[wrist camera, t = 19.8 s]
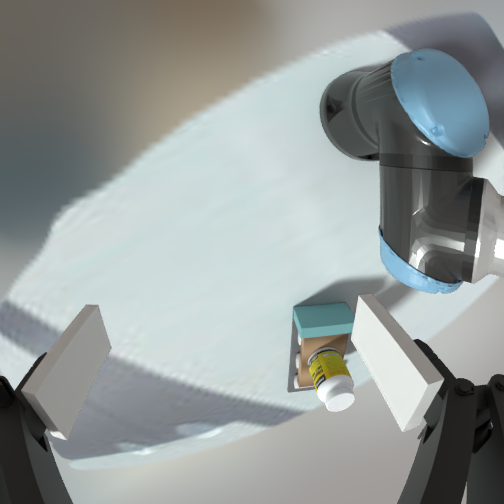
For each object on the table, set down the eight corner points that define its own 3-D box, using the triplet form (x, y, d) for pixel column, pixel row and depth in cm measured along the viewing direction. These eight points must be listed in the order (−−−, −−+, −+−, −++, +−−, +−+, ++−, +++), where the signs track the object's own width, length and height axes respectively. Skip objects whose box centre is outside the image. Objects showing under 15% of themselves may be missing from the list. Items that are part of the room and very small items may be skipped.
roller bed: (293, 306, 49) (301, 328, 43) (345, 302, 50) (359, 322, 43) (287, 390, 57) (292, 413, 50) (330, 384, 57) (338, 406, 51)
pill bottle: (309, 347, 46) (325, 392, 36) (342, 344, 46) (364, 386, 36) (304, 372, 48) (318, 417, 38) (336, 369, 48) (354, 411, 38)
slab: (302, 328, 47) (304, 335, 45) (345, 324, 47) (348, 330, 45) (297, 380, 51) (299, 387, 49) (335, 375, 52) (337, 382, 50)
